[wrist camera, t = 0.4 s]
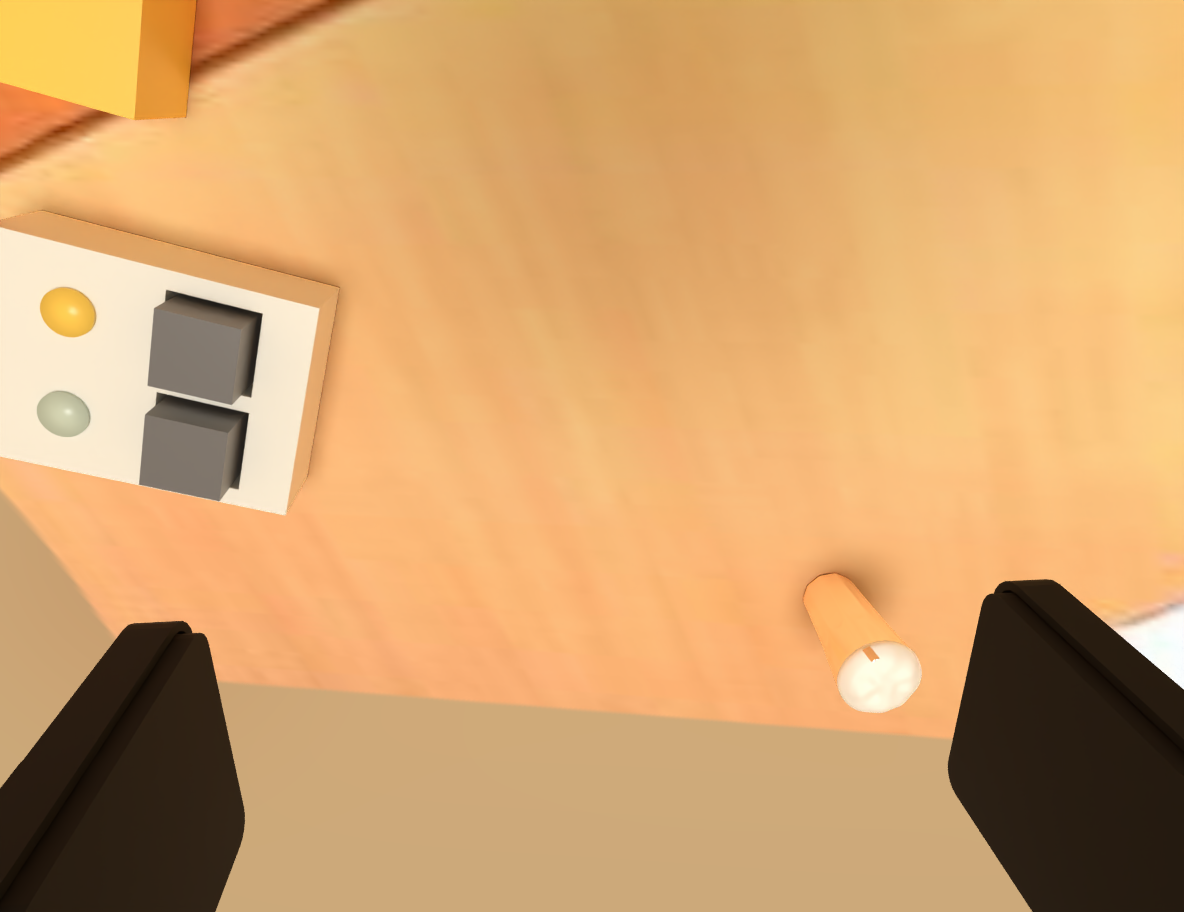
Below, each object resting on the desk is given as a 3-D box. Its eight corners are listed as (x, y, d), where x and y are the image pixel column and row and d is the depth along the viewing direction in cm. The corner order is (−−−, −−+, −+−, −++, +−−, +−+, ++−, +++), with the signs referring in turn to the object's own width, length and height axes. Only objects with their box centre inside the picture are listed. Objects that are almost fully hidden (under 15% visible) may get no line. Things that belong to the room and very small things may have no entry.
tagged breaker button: (189, 288, 38) (153, 308, 35) (267, 308, 39) (241, 329, 35) (181, 359, 40) (147, 385, 36) (258, 377, 40) (231, 405, 37)
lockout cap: (50, -74, 34) (-31, -104, 29) (199, -26, 35) (145, -47, 30) (45, 76, 36) (-30, 73, 31) (185, 117, 38) (134, 119, 33)
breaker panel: (35, 208, 39) (-28, 222, 34) (339, 287, 41) (318, 310, 37) (29, 417, 43) (-28, 454, 38) (307, 477, 45) (284, 518, 41)
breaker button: (179, 385, 40) (144, 414, 36) (254, 402, 41) (228, 433, 37) (172, 450, 41) (138, 484, 38) (245, 466, 42) (219, 501, 38)
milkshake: (845, 541, 50) (918, 641, 41) (872, 605, 52) (947, 713, 43) (777, 573, 50) (834, 677, 41) (807, 635, 52) (867, 747, 43)
